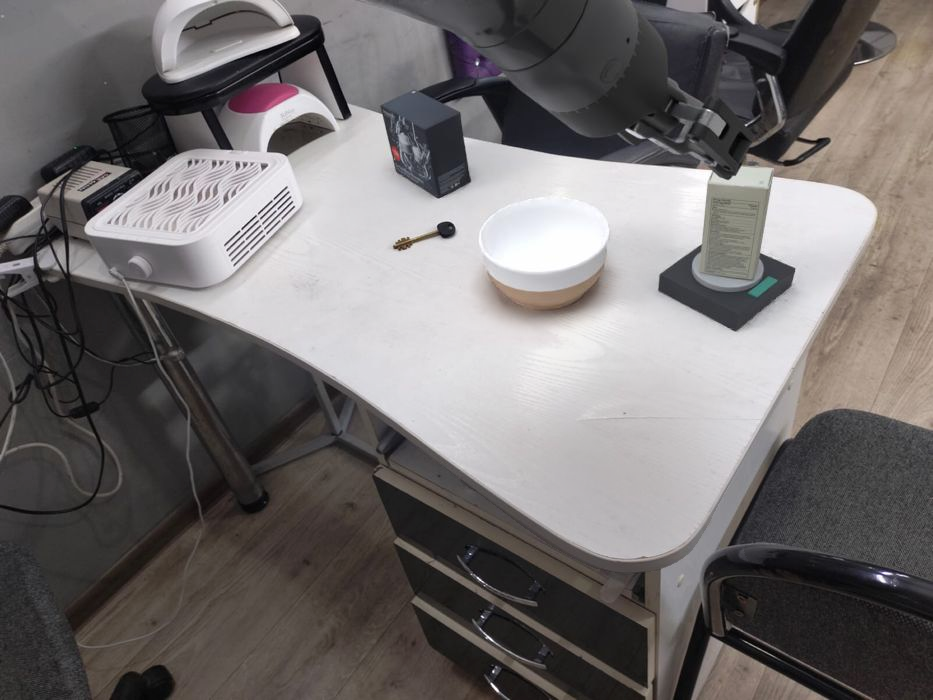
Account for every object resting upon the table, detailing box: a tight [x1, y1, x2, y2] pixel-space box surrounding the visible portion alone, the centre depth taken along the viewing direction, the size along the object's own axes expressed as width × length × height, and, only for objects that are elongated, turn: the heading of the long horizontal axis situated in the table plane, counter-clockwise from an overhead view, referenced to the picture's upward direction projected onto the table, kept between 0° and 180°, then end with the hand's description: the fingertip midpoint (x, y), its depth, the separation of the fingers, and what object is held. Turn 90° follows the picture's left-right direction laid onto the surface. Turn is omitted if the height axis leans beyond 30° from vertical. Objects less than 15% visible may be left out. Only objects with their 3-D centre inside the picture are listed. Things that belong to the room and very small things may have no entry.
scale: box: [657, 243, 797, 332], centre depth 82 cm, size 11×11×3 cm
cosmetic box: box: [699, 165, 775, 280], centre depth 76 cm, size 6×4×12 cm
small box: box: [379, 88, 472, 199], centre depth 108 cm, size 13×7×12 cm, turn 37°
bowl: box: [477, 196, 611, 311], centre depth 86 cm, size 16×16×8 cm
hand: (684, 149), depth 52 cm, fingers open, 8 cm apart
